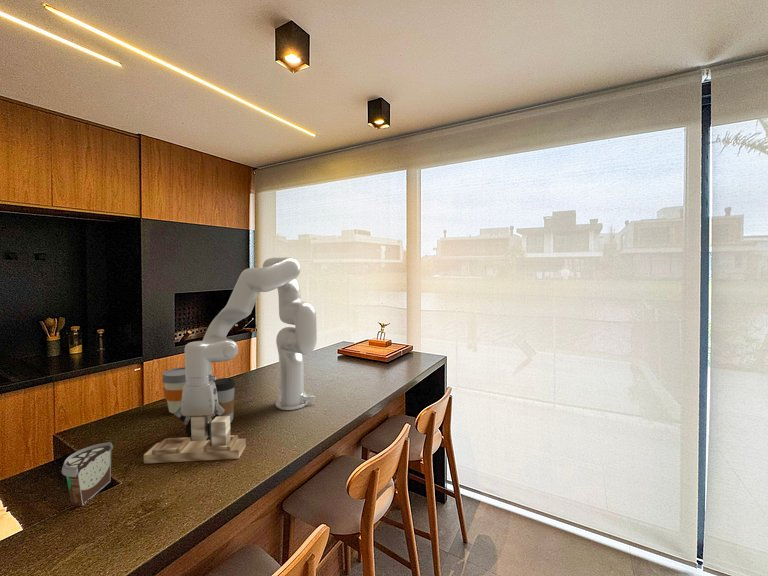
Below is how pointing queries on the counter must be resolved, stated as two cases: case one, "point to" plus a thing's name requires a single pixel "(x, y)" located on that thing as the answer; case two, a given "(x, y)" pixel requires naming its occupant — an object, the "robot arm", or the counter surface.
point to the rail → (199, 446)
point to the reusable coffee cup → (174, 387)
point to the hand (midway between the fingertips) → (200, 434)
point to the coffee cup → (225, 396)
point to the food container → (88, 472)
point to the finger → (199, 428)
